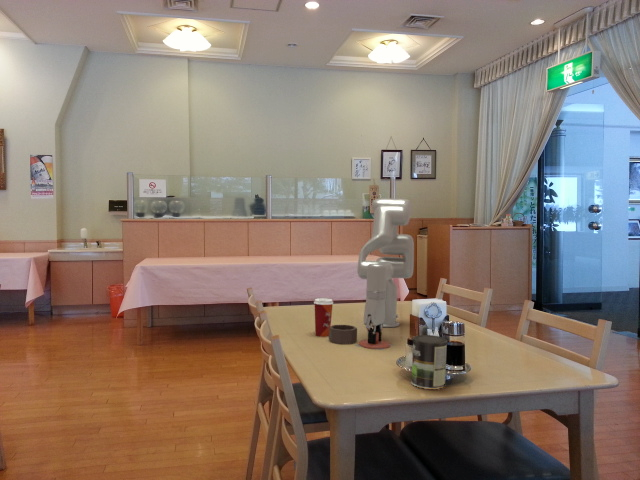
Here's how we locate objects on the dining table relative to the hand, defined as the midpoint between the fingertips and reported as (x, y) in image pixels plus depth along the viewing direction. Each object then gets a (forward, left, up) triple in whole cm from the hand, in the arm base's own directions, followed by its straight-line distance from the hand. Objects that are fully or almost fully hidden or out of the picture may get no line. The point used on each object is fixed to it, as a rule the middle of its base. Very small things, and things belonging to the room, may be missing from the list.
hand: (374, 341), depth 210 cm
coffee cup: (-4, -26, -2) cm, 26 cm away
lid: (0, 0, -1) cm, 1 cm away
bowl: (+2, -13, -2) cm, 13 cm away
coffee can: (+32, +34, -2) cm, 47 cm away
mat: (0, 0, -2) cm, 2 cm away
